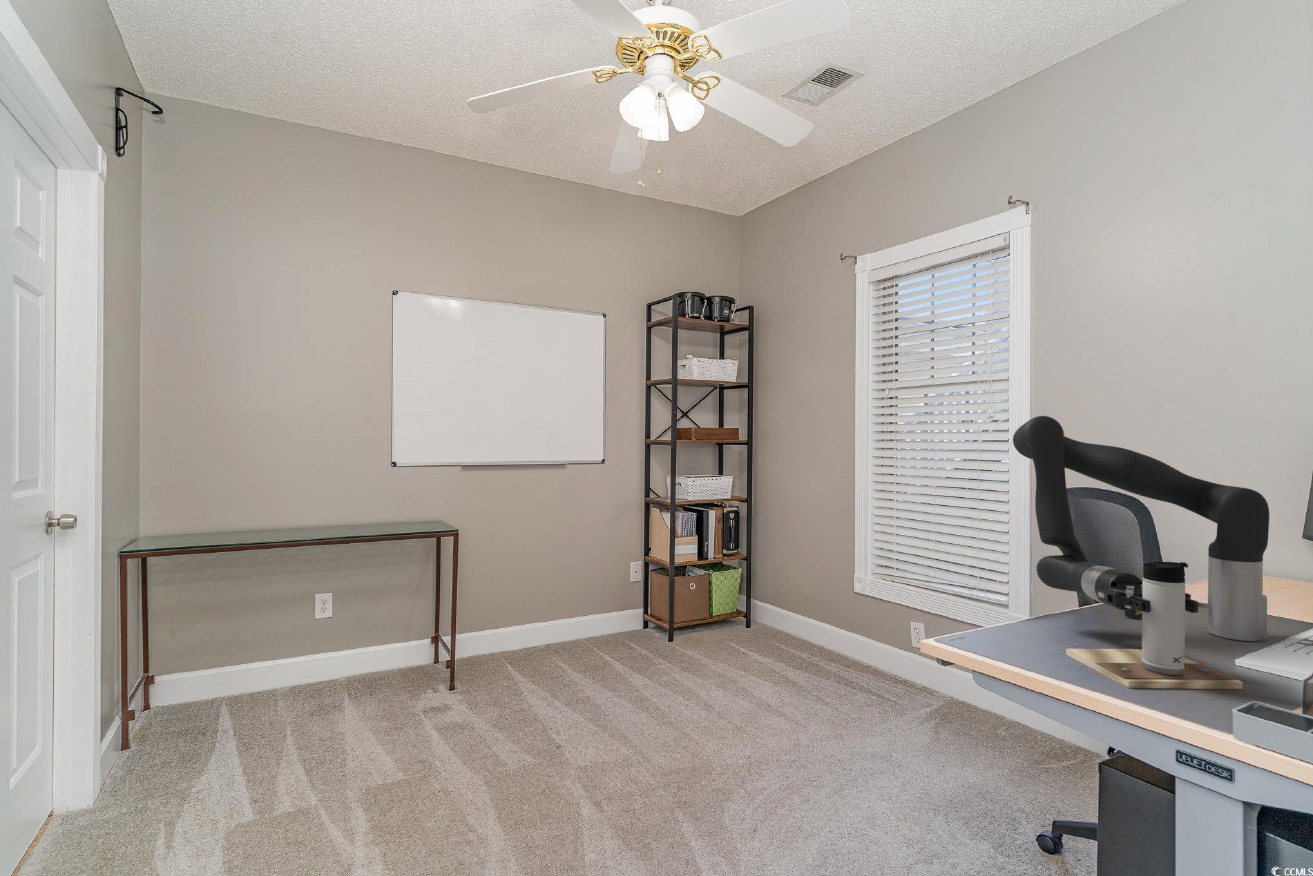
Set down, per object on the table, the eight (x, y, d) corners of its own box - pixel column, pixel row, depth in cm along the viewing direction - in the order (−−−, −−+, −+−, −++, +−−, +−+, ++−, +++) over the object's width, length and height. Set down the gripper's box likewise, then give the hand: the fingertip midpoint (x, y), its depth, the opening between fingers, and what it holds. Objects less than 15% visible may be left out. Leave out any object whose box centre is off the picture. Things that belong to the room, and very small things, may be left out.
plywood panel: (1164, 655, 135) (1165, 647, 135) (1242, 689, 117) (1242, 679, 117) (1066, 654, 135) (1066, 646, 135) (1128, 688, 117) (1128, 679, 117)
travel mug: (1189, 679, 118) (1190, 566, 118) (1143, 671, 122) (1144, 562, 121) (1184, 668, 124) (1185, 560, 123) (1140, 661, 127) (1141, 556, 127)
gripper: (1077, 568, 137) (1133, 586, 121) (1146, 568, 137) (1212, 586, 120) (1076, 605, 137) (1132, 627, 121) (1146, 605, 137) (1212, 628, 120)
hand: (1172, 607), depth 121 cm, fingers open, 8 cm apart
